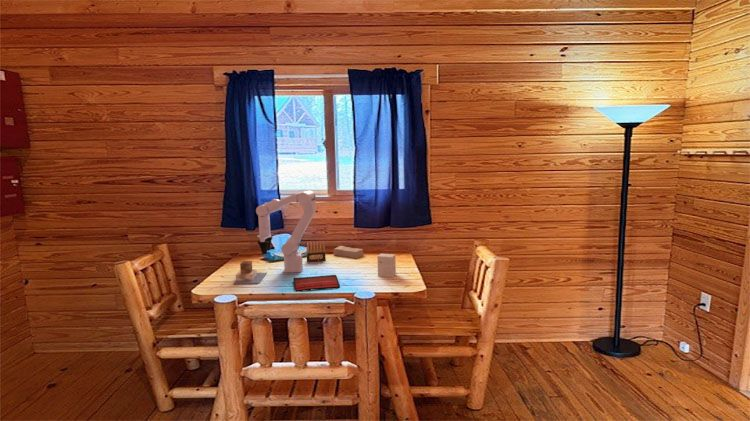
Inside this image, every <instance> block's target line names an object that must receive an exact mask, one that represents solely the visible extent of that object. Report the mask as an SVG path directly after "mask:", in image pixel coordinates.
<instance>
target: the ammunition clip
mask: <svg viewBox="0 0 750 421" xmlns="http://www.w3.org/2000/svg"><path fill="white" fill-rule="evenodd" d="M326 260H327V258H326V246H325V240H322V241H321V239H320V240H319V241H318V240H316V242H315V240H313V242H312V241H308V240H307V242H306V263H312V262H314V263H315V261H316V262H324V261H326Z"/></svg>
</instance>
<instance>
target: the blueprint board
mask: <svg viewBox="0 0 750 421" xmlns="http://www.w3.org/2000/svg"><path fill="white" fill-rule="evenodd" d="M267 273H268V272H257V269H252V272H251V273H243V274H241V270H239V271H238V272H237V273H236V274H235V281H234V282H233V283H232V284H233V285H260V283H261V281H262V280H264V278H265V276H267Z"/></svg>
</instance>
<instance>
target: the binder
mask: <svg viewBox="0 0 750 421" xmlns="http://www.w3.org/2000/svg"><path fill="white" fill-rule="evenodd" d="M293 287H294V288H293V289H295V290H296V291H295V290H294V291H295V292H297V291H300V292H304V291H303V290H308V291H312V290H311V289H318V290H323V289H322V288H336V289H339V288H340V287H341V284H340V282H339V280H338V276H337V274H329V275H327V274H326V275H317V276H316V275H315V276H305V277H304V276H302V277H293Z"/></svg>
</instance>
